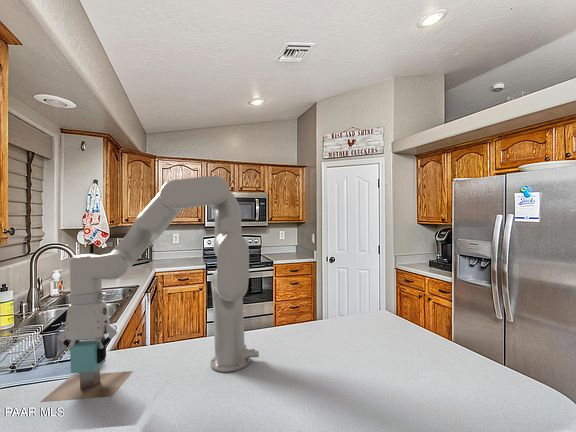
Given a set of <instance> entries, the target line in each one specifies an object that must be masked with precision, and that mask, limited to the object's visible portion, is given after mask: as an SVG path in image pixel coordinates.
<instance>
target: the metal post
mask: <svg viewBox="0 0 576 432" xmlns="http://www.w3.org/2000/svg"><path fill="white" fill-rule="evenodd" d="M100 373H101V366H100V367H99V368H98V369H97V370H96V371H94V372H79V375H80V389H87V388H94V387H95V386H96V385H97V384H98V383H99V382H100Z"/></svg>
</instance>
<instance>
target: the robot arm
mask: <svg viewBox="0 0 576 432" xmlns="http://www.w3.org/2000/svg"><path fill="white" fill-rule="evenodd" d="M204 206H206V207H207V206H210V207H211V209H212V211H213V214H214V241H213V242H214V243H213V252H214V254H215V256H216V260H217V261H216V269H215V270H214V271H213V273H212V277H211V281H210V287H211V295H212V307H213V308H212V309H213V311H212V312H213V334H214V355H215V356H214V357H212V359H211V360H210V368H211V369H212V370H214V371H216V372H222V373H223V372H224V373H227V372H228V373H229V372H235V371H236V372H237V371H239V370H242V369H244V368H246V367H247V366H248V365H249V364H250V362H251V358H253V359H254V358H259V357H260V355H259V354H260V353H259V350H256V348H250V349H249V348H247V344H245V327H244V325H245V321H244V319H245V318H244V303H243V298H244V297H245V295H246V294H247V291H248V290H249V288H248V287H249V277H250V250H249V244H248V242H247V239H246V238H245V237H244V236H242V211H241V207H240V206H241V205H240V203H239V202H238V200H237V197H236V196H235V195H234V194H233V192H232V191H231V190H230V185H229V182H228V181H227V180H226V179H224V178H223V177H222V176H220V175H208V176H200V177H199V176H198V177H190V178H189V177H188V178H179V179H171V180H169V181H167V182H165V183H164V184H163V185H162V186H161V188H160V191H159V192H158V193H157V194H156V195H155V197H154V198H153V199H152V200H151V201H150V203H148V205H147V206H145V208H144V209H142V211H141V212H140V213H139V214H138V215H137V217H136V218H135V219H134V221H133V223H132V225H131V227H130V228H129V230H128V232H127V233H126V235H125V236H123V238H121V240H120V242H118V243H117V245H116V246H115V247H114V248H113V249H112V251H111V252H110V253H105V254H100V255H99V254H96V253H84V254H83V253H81V254H76V255H73V256H71V257H70V259H69V284H70V285H69V287H70V288H69V290H70V304H68V306H67V311H66V317H65V329H64V330H63V331H62V332H60V333H59V335H58V336H57V339H58V340H59V341H60V342H62V343H63V345H64V346H65V347H67V350H68V351H70V347H71V346H73V345H74V344H76V343H77V342H79V341H80V340H94V339H95V340H96V343H97V345H98V347H99V348H98V349H97V362H98V363H101V362H102V361H103V360H104V359H106V357H107V345H108V344H109V343H110V342H111V341H112V339H114V338H115V336H117V334H118V331H116V329H114V328H113V327H112V326H111V324H110V316H109V315H110V314H109V310H108V306H107V301H106V300H104V299H107V297H108V294H107V293H106V292H103V289H102V284H103V283H102V280H114V281H115V280H119V279H121V278H123V277H124V276H125V275H127V273H128V272H129V270H130V269H131V268H132V267H133V265H135V263H136V262H137V261H138V259H139V258H141V256H142V255H143V254H144V252H145V251H146V250H147V249H148V248H149V247H150V246H151V245H152V244H153V243H154V242H155V241H156V240H158V239H159V238H160V236H162V234H164V232H165V231H166V230H167V229H168V227H169V226H170V225H171V224H172V222H173V221H174V220H175V219H176V218H177V216H178V215H179V214H180V213H181V212H182V211H183V209H189V208H197V207H204ZM107 334H108V336H107V337H106V335H107Z"/></svg>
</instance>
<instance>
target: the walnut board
mask: <svg viewBox="0 0 576 432" xmlns="http://www.w3.org/2000/svg"><path fill="white" fill-rule="evenodd" d="M133 372H134V371H133V370H129V371H128V370H126V371H115V372H100V382H99V383H98V384H97V385H96V386H95V387H94V388H87V389H80V374H73V375H70V376H69V377H68V378H67V379H66V380H65V381H63V382H62V383H61V384H60V385H59V386H57V387H56V388H55V389H54V390H53V391H51V392H50V393H48V395H47V396H45V397H44V398H43V399H41V401H39V402H40V403H44V402H45V403H46V402H54V401H55V402H56V401H58V402H59V401H72V400H83V399H84V400H85V399H97V398H110V397H113V396H114V395H115V393H116V392H117V391H118V390H119V389H120V388H121V386H122V385H123V384H124V383H125V382H126V380H127V379H128V378H129V377H130V376H131V375H132V374H133Z"/></svg>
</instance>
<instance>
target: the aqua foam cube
mask: <svg viewBox="0 0 576 432" xmlns="http://www.w3.org/2000/svg"><path fill="white" fill-rule="evenodd" d="M98 348H99V347H98V345H97V343H96V340H95V339H94V340H80V341H79V342H77V343H76V344H74V345H73V346H71V347H70V352H69V353H70V357H69V359H70V374H76V373H80V372H94V371H96V370H97V369H98V368H99V367H100V368H101V367H102V365H104V363H105V362H106V358H105V359H104V360H103V361H102V362H101V363H98V362H97V349H98Z"/></svg>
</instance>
